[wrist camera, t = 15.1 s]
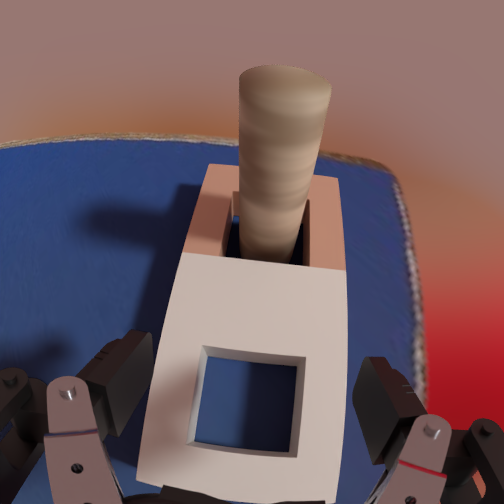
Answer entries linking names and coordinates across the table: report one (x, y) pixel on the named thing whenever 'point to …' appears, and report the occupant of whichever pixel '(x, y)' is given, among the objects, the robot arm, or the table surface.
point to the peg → (277, 156)
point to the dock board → (252, 352)
